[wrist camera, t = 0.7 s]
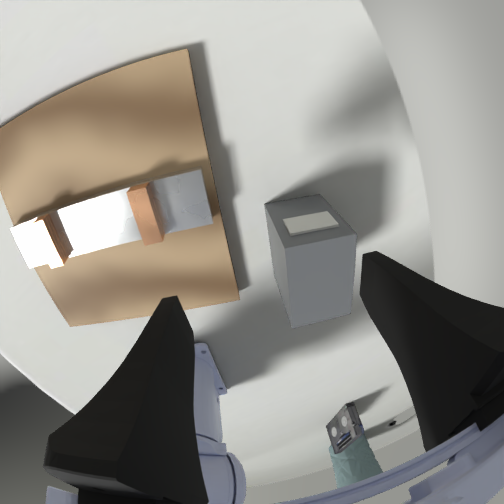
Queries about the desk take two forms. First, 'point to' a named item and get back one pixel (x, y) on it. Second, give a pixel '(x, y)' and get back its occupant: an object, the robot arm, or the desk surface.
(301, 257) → the block
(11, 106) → the desk surface
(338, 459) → the teal cup
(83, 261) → the mounting board
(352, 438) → the mini dv tape
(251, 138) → the desk surface
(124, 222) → the din rail
